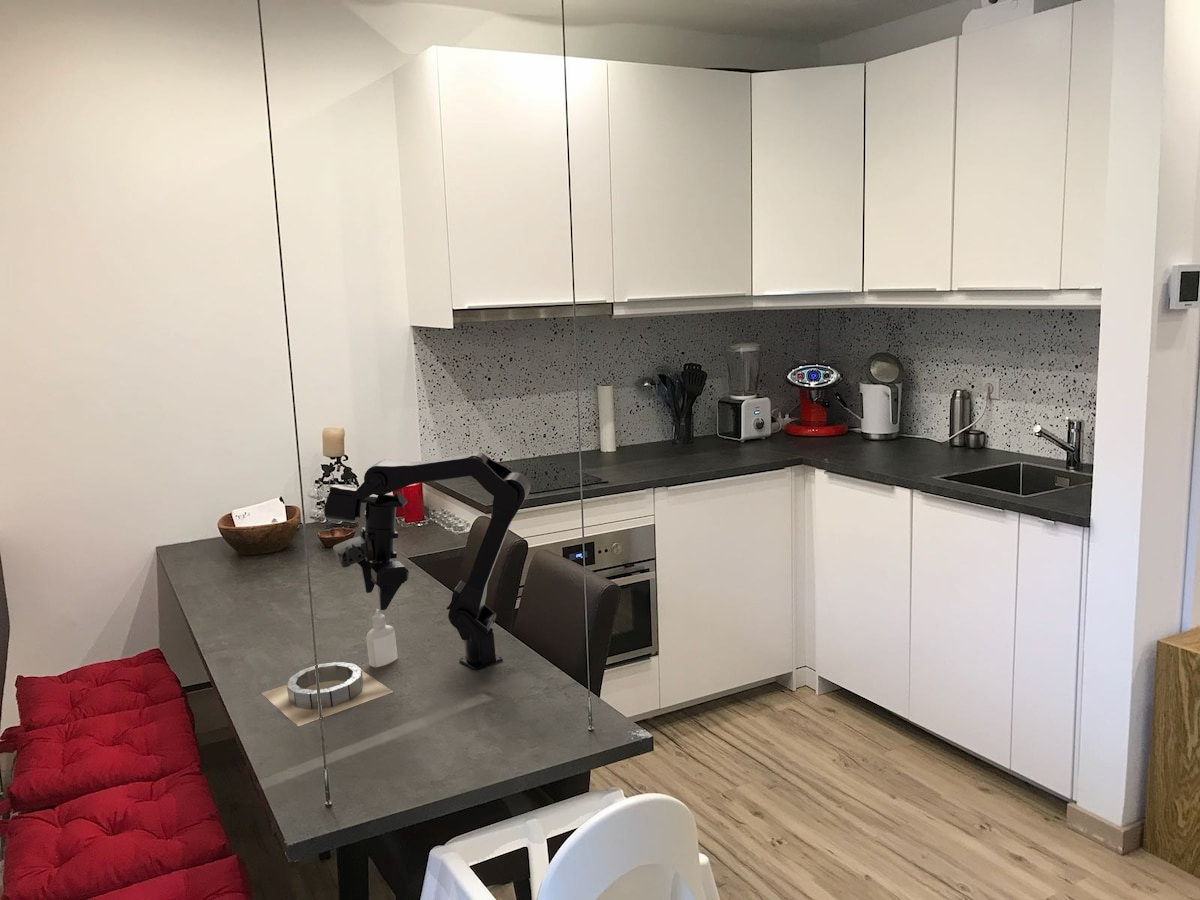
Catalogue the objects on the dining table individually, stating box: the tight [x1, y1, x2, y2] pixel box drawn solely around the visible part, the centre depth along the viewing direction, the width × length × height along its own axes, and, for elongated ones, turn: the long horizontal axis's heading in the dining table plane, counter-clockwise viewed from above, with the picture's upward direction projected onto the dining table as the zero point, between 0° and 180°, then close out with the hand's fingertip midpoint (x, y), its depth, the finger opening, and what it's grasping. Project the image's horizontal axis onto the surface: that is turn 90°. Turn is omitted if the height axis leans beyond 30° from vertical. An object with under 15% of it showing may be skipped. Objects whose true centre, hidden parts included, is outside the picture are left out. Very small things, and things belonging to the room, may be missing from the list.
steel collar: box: [286, 661, 363, 710], centre depth 173 cm, size 13×13×3 cm
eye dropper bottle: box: [365, 608, 399, 668], centre depth 185 cm, size 4×6×12 cm
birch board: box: [261, 670, 394, 727], centre depth 174 cm, size 18×18×1 cm
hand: (375, 600), depth 186 cm, fingers open, 9 cm apart
